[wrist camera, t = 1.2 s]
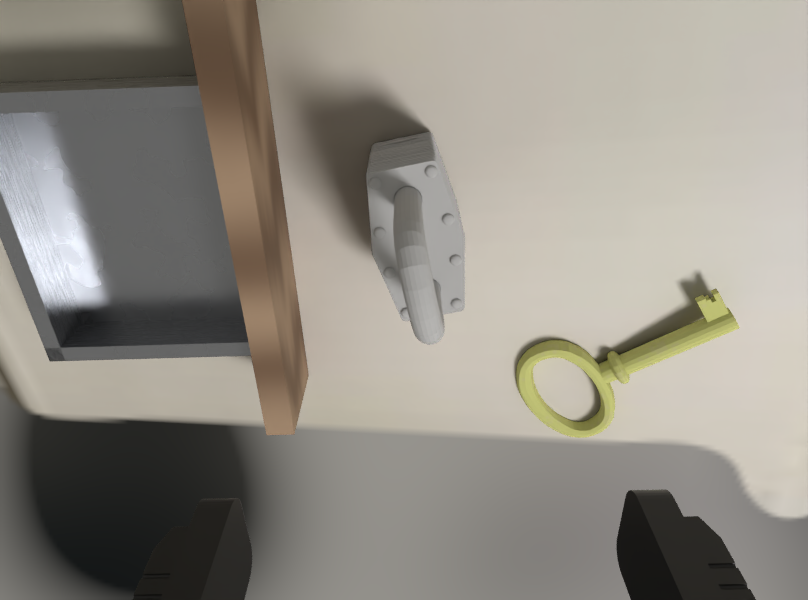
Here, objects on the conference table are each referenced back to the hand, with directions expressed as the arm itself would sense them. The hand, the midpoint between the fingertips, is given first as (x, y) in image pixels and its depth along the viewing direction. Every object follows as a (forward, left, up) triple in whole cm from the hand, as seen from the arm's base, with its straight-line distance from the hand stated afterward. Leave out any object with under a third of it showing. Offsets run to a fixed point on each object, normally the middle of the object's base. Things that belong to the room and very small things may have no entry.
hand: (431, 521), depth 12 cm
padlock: (0, 0, -19) cm, 19 cm away
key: (+10, +11, -20) cm, 25 cm away
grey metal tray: (0, -13, -19) cm, 23 cm away
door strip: (0, -7, -19) cm, 20 cm away
